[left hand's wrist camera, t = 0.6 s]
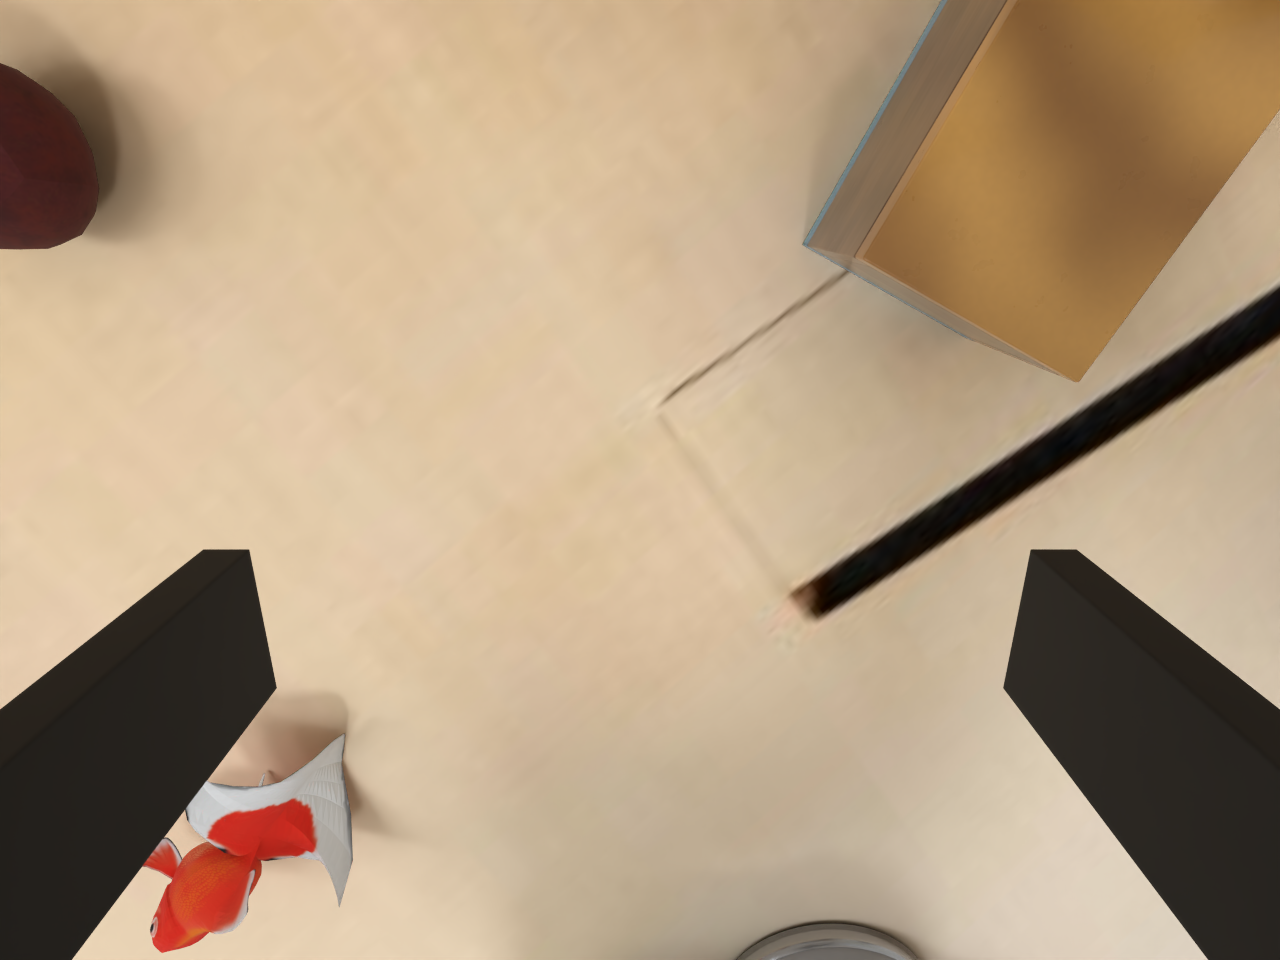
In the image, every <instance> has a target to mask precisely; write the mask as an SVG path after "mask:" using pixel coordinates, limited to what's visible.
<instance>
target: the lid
mask: <svg viewBox="0 0 1280 960" xmlns="http://www.w3.org/2000/svg"><path fill="white" fill-rule="evenodd" d="M1279 110H1280V0H1007V2H1006V4H1005V5H1004V7H1003V9H1002V10H1001V12H1000V14H999V15H998V17H997V19H996V21H995V22H994V24H993V26H992V27H991V29H990V31H989V32H988V34H987V36H986V37H985V39H984V41H983V42H982V44H981V46H980V47H979V49H978V51H977V52H976V54H975V56H974V57H973V59H972V61H971V62H970V64H969V66H968V67H967V69H966V71H965V73H964V74H963V76H962V78H961V79H960V81H959V83H958V84H957V86H956V88H955V89H954V91H953V93H952V94H951V96H950V98H949V99H948V101H947V103H946V104H945V106H944V108H943V109H942V111H941V113H940V114H939V116H938V118H937V119H936V121H935V123H934V125H933V126H932V128H931V130H930V131H929V133H928V135H927V136H926V138H925V140H924V141H923V143H922V145H921V146H920V148H919V150H918V151H917V153H916V155H915V156H914V158H913V160H912V161H911V163H910V165H909V166H908V168H907V170H906V171H905V173H904V175H903V176H902V178H901V180H900V182H899V183H898V185H897V187H896V188H895V190H894V192H893V193H892V195H891V197H890V198H889V200H888V202H887V203H886V205H885V207H884V208H883V210H882V212H881V213H880V215H879V217H878V218H877V220H876V222H875V223H874V225H873V227H872V228H871V230H870V232H869V234H868V235H867V237H866V239H865V240H864V242H863V244H862V245H861V247H860V249H859V250H858V252H857V254H856V256H855V258H856V259H858V260H859V261H861V262H863V263H865V264H866V265H868V266H870V267H872V268H873V269H875V270H877V271H879V272H880V273H882V274H884V275H886V276H887V277H889V278H891V279H893V280H894V281H896V282H898V283H900V284H901V285H903V286H905V287H907V288H908V289H910V290H912V291H913V292H915V293H917V294H919V295H920V296H922V297H924V298H926V299H927V300H929V301H931V302H933V303H934V304H936V305H938V306H940V307H941V308H943V309H945V310H947V311H948V312H950V313H952V314H954V315H955V316H957V317H959V318H961V319H962V320H964V321H966V322H968V323H969V324H971V325H973V326H975V327H976V328H978V329H980V330H982V331H983V332H985V333H987V334H989V335H990V336H992V337H994V338H996V339H997V340H999V341H1001V342H1003V343H1004V344H1006V345H1008V346H1009V347H1011V348H1013V349H1015V350H1016V351H1018V352H1020V353H1022V354H1023V355H1025V356H1027V357H1029V358H1030V359H1032V360H1034V361H1036V362H1037V363H1039V364H1041V365H1043V366H1044V367H1046V368H1048V369H1050V370H1051V371H1053V372H1055V373H1057V374H1058V375H1060V376H1062V377H1064V378H1067V379H1069V380H1072V381H1074V382H1079V381H1080V380H1081V378H1082V377H1083V376H1084V374H1085V373H1086V372H1087V370H1088V369H1089V367H1090V366H1091V365H1092V363H1093V362H1094V361H1095V359H1096V358H1097V357H1098V355H1099V354H1100V353H1101V351H1102V350H1103V348H1104V347H1105V346H1106V344H1107V343H1108V342H1109V340H1110V339H1111V338H1112V336H1113V335H1114V334H1115V332H1116V331H1117V329H1118V328H1119V327H1120V325H1121V324H1122V323H1123V321H1124V320H1125V319H1126V317H1127V316H1128V315H1129V313H1130V312H1131V310H1132V309H1133V308H1134V306H1135V305H1136V304H1137V302H1138V301H1139V300H1140V298H1141V297H1142V296H1143V294H1144V293H1145V291H1146V290H1147V289H1148V287H1149V286H1150V285H1151V283H1152V282H1153V281H1154V279H1155V278H1156V277H1157V275H1158V274H1159V273H1160V271H1161V270H1162V268H1163V267H1164V266H1165V264H1166V263H1167V262H1168V260H1169V259H1170V258H1171V256H1172V255H1173V254H1174V252H1175V251H1176V249H1177V248H1178V247H1179V245H1180V244H1181V243H1182V241H1183V240H1184V239H1185V237H1186V236H1187V235H1188V233H1189V232H1190V230H1191V229H1192V228H1193V226H1194V225H1195V224H1196V222H1197V221H1198V220H1199V218H1200V217H1201V216H1202V214H1203V213H1204V211H1205V210H1206V209H1207V207H1208V206H1209V205H1210V203H1211V202H1212V201H1213V199H1214V198H1215V197H1216V195H1217V194H1218V192H1219V191H1220V190H1221V188H1222V187H1223V186H1224V184H1225V183H1226V182H1227V180H1228V179H1229V178H1230V176H1231V175H1232V173H1233V172H1234V171H1235V169H1236V168H1237V167H1238V165H1239V164H1240V163H1241V161H1242V160H1243V159H1244V157H1245V156H1246V154H1247V153H1248V152H1249V150H1250V149H1251V148H1252V146H1253V145H1254V144H1255V142H1256V141H1257V140H1258V138H1259V137H1260V135H1261V134H1262V133H1263V131H1264V130H1265V129H1266V127H1267V126H1268V125H1269V123H1270V122H1271V121H1272V119H1273V118H1274V116H1275V115H1276V114H1277V112H1278V111H1279Z"/></svg>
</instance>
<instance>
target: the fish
mask: <svg viewBox="0 0 1280 960" xmlns="http://www.w3.org/2000/svg"><path fill="white" fill-rule="evenodd" d="M344 741H345V734H342V735H341V736H340V737H338V738H336V739H335V740H333V741H332V742H331V743H330V744H329V745H328V746H327V747H326V748H325V749H324V750H322V751H321V752H320V753H319V754H318V755H317V756H316V757H315V758H314V759H313V760H312V761H310V762H309V763H307V764H306V765H305V766H303V767H302V768H301V769H299V770H298V771H296V772H295V773H293V774H292V775H290V776H289V777H287V778H286V779H284V780H283V781H281V782H279V783H274V784H269V785H265V786H262V784H263V780H264V777H265V773H264V774H263V776H262V779H261V781H260V783H259V786H258V787H242V786H229V785H222V784H216V783H210V782H208V781H206V782H205V784H204V785H203V786H202V788H201V789H200V790H199V792H198V793H197V794H196V796H195V797H194V798H193V800H192V801H191V802H190V804H189V805H188V806H187V808H186V809H185V811H186V816H187V820H188V822H189V823H190V824H191V826H192V827H193V828H194V830H195V831H196V832H197V833H198V834H200V835H201V836H202V837H203V838H205V839H206V840H207V841H208V842H205V843H202V844H200V845H198V846H197V847H195V848H194V849H192V850H191V851H190V852H189V853H188V854H187V855H186V856H185V857H184V858H183V859H182V858H181V855H180V853H179V851H178V849H177V848H176V846H175V845H174V844H173V842H172V841H171V840H170V839H169V838H163V839H162V841H161V842H160V843H159V845H158V846H157V847H156V849H155V850H154V851H153V853H152V854H151V855H150V857H149V858H148V859H147V861H146V862H145V863H144V865H143V866H144V867H148V868H150V869H153V870H156V871H159V872H161V873H162V874H164V875H166V876H167V877H169V878H171V879H172V882H171V883H170V884H168V885H167V887H166V889H165V892H164V894H163V897H162V899H161V902H160V904H159V906H158V909H157V911H156V913H155V915H154V918H153V921H152V925H151V928H150V933H151V936H152V940H153V944H154V946H155V947H156V948H157V949H158V950H159V951H160V952H162V953H163V952H167V951H171V950H176V949H180V948H184V947H187V946H190V945H192V944H194V943H196V942H198V941H199V940H201V939H202V938H203V937H204V936H206V935H207V934H208V933H209V932H212V933H214V934H223V933H226V932H230V931H233V930H234V929H235V928H236V927H237V926H238V925H240V923H241V922H242V920H243V919H244V917H245V916H246V914H247V912H248V898H249V895H250V894H251V892H252V891H253V889H254V888H255V886H256V884H257V882H258V880H259V878H260V876H261V869H262V864H261V860H263V861H269V860H277V859H284V858H291V857H300V858H305V859H313V860H320V861H321V862H322V864H323V865H324V866H325V867H326V869H327V871H328V873H329V875H330V876H331V879H332V882H333V884H334V887H335V891H336V894H337V897H338V903H339V907H340V903H341V900H342V896H343V893H344V889H345V886H346V882H347V879H348V875H349V872H350V868H351V865H352V861H353V854H352V830H351V812H350V807H349V801H348V796H347V790H346V785H345V779H344V773H343V767H342V757H343V751H344Z"/></svg>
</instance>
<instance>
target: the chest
mask: <svg viewBox="0 0 1280 960" xmlns="http://www.w3.org/2000/svg"><path fill="white" fill-rule="evenodd" d="M1006 2H1007V0H942V1H941V2H940V4H939V6H938V8H937V9H936V11H935V13H934V15H933V16H932V18H931V20H930V22H929V23H928V25H927V27H926V29H925V30H924V32H923V34H922V36H921V37H920V39H919V41H918V43H917V44H916V46H915V48H914V50H913V51H912V53H911V55H910V57H909V58H908V60H907V62H906V64H905V66H904V67H903V69H902V71H901V73H900V74H899V76H898V78H897V80H896V81H895V83H894V85H893V87H892V88H891V90H890V92H889V94H888V95H887V97H886V99H885V101H884V102H883V104H882V106H881V108H880V109H879V111H878V113H877V115H876V116H875V118H874V120H873V122H872V123H871V125H870V127H869V129H868V130H867V132H866V134H865V136H864V137H863V139H862V141H861V143H860V144H859V146H858V148H857V150H856V151H855V153H854V155H853V157H852V159H851V160H850V162H849V164H848V166H847V167H846V169H845V171H844V173H843V174H842V176H841V178H840V180H839V181H838V183H837V185H836V187H835V188H834V190H833V192H832V194H831V195H830V197H829V199H828V201H827V202H826V204H825V206H824V208H823V209H822V211H821V213H820V215H819V216H818V218H817V220H816V222H815V223H814V225H813V227H812V229H811V230H810V232H809V234H808V236H807V237H806V239H805V241H804V243H803V244H802V245H803V246H805V247H807V248H809V249H810V250H812V251H814V252H816V253H818V254H819V255H821V256H823V257H825V258H826V259H828V260H830V261H832V262H833V263H835V264H837V265H839V266H840V267H842V268H844V269H846V270H847V271H849V272H851V273H853V274H854V275H856V276H858V277H860V278H861V279H863V280H865V281H867V282H869V283H870V284H872V285H874V286H876V287H877V288H879V289H881V290H883V291H884V292H886V293H888V294H890V295H891V296H893V297H895V298H897V299H898V300H900V301H902V302H904V303H905V304H907V305H909V306H911V307H912V308H914V309H916V310H918V311H920V312H921V313H923V314H925V315H927V316H928V317H930V318H932V319H934V320H935V321H937V322H939V323H941V324H942V325H944V326H946V327H948V328H949V329H951V330H953V331H955V332H956V333H958V334H960V335H962V336H963V337H965V338H967V339H970V340H972V341H976V342H978V343H981V344H983V345H986V346H988V347H991V348H993V349H996V350H998V351H1000V352H1003V353H1005V354H1008V355H1010V356H1013V357H1015V358H1018V359H1020V360H1022V361H1025V362H1027V363H1030V364H1032V365H1035V366H1037V367H1040V368H1042V369H1045V370H1047V371H1049V372H1052V373H1054V374H1057V373H1055V372H1053V371H1051V370H1050V369H1048V368H1046V367H1044V366H1043V365H1041V364H1039V363H1037V362H1036V361H1034V360H1032V359H1030V358H1029V357H1027V356H1025V355H1023V354H1022V353H1020V352H1018V351H1016V350H1015V349H1013V348H1011V347H1009V346H1008V345H1006V344H1004V343H1003V342H1001V341H999V340H997V339H996V338H994V337H992V336H990V335H989V334H987V333H985V332H983V331H982V330H980V329H978V328H976V327H975V326H973V325H971V324H969V323H968V322H966V321H964V320H962V319H961V318H959V317H957V316H955V315H954V314H952V313H950V312H948V311H947V310H945V309H943V308H941V307H940V306H938V305H936V304H934V303H933V302H931V301H929V300H927V299H926V298H924V297H922V296H920V295H919V294H917V293H915V292H913V291H912V290H910V289H908V288H907V287H905V286H903V285H901V284H900V283H898V282H896V281H894V280H893V279H891V278H889V277H887V276H886V275H884V274H882V273H880V272H879V271H877V270H875V269H873V268H872V267H870V266H868V265H866V264H865V263H863V262H861V261H859V260H858V259H856V258H855V256H856V254H857V252H858V250H859V249H860V247H861V245H862V244H863V242H864V240H865V239H866V237H867V235H868V234H869V232H870V230H871V228H872V227H873V225H874V223H875V222H876V220H877V218H878V217H879V215H880V213H881V212H882V210H883V208H884V207H885V205H886V203H887V202H888V200H889V198H890V197H891V195H892V193H893V192H894V190H895V188H896V187H897V185H898V183H899V182H900V180H901V178H902V176H903V175H904V173H905V171H906V170H907V168H908V166H909V165H910V163H911V161H912V160H913V158H914V156H915V155H916V153H917V151H918V150H919V148H920V146H921V145H922V143H923V141H924V140H925V138H926V136H927V135H928V133H929V131H930V130H931V128H932V126H933V125H934V123H935V121H936V119H937V118H938V116H939V114H940V113H941V111H942V109H943V108H944V106H945V104H946V103H947V101H948V99H949V98H950V96H951V94H952V93H953V91H954V89H955V88H956V86H957V84H958V83H959V81H960V79H961V78H962V76H963V74H964V73H965V71H966V69H967V67H968V66H969V64H970V62H971V61H972V59H973V57H974V56H975V54H976V52H977V51H978V49H979V47H980V46H981V44H982V42H983V41H984V39H985V37H986V36H987V34H988V32H989V31H990V29H991V27H992V26H993V24H994V22H995V21H996V19H997V17H998V15H999V14H1000V12H1001V10H1002V9H1003V7H1004V5H1005V4H1006ZM1057 375H1058V374H1057Z"/></svg>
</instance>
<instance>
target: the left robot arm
mask: <svg viewBox="0 0 1280 960" xmlns="http://www.w3.org/2000/svg"><path fill="white" fill-rule="evenodd" d="M276 688H277V687H276V682H275V677H274V672H273V667H272V662H271V657H270V652H269V647H268V642H267V637H266V632H265V627H264V622H263V617H262V612H261V607H260V602H259V597H258V592H257V587H256V582H255V577H254V572H253V567H252V562H251V556H250V551H249V550H202V551H201V552H200V553H199V554H197V555H196V556H195V557H193V558H192V559H191V560H190V561H188V562H187V563H186V564H185V565H183V566H182V567H181V568H179V569H178V570H177V571H176V572H174V573H173V574H172V575H171V576H169V577H168V578H167V579H166V580H164V581H163V582H162V583H160V584H159V585H158V586H157V587H155V588H154V589H153V590H152V591H150V592H149V593H148V594H146V595H145V596H144V597H143V598H141V599H140V600H139V601H138V602H136V603H135V604H134V605H132V606H131V607H130V608H129V609H127V610H126V611H125V612H124V613H122V614H121V615H120V616H118V617H117V618H116V619H115V620H113V621H112V622H111V623H110V624H108V625H107V626H106V627H104V628H103V629H102V630H101V631H99V632H98V633H97V634H96V635H94V636H93V637H92V638H91V639H89V640H88V641H87V642H85V643H84V644H83V645H82V646H80V647H79V648H78V649H77V650H75V651H74V652H73V653H71V654H70V655H69V656H68V657H66V658H65V659H64V660H63V661H61V662H60V663H59V664H57V665H56V666H55V667H54V668H52V669H51V670H50V671H49V672H47V673H46V674H45V675H43V676H42V677H41V678H40V679H38V680H37V681H36V682H35V683H33V684H32V685H31V686H29V687H28V688H27V689H26V690H24V691H23V692H22V693H21V694H19V695H18V696H17V697H15V698H14V699H13V700H12V701H10V702H9V703H8V704H7V705H5V706H4V707H3V708H2V709H0V960H72V959H73V957H74V956H75V955H76V953H77V952H78V951H79V949H80V948H81V947H82V945H83V944H84V943H85V941H86V940H87V939H88V937H89V936H90V935H91V934H92V932H93V931H94V930H95V928H96V927H97V926H98V924H99V923H100V922H101V920H102V919H103V918H104V916H105V915H106V914H107V912H108V911H109V910H110V908H111V907H112V906H113V904H114V903H115V902H116V900H117V899H118V898H119V896H120V895H121V894H122V892H123V891H124V890H125V888H126V887H127V886H128V884H129V883H130V882H131V880H132V879H133V878H134V876H135V875H136V874H137V873H138V871H139V870H140V869H141V867H142V866H143V865H144V863H145V862H146V861H147V859H148V858H149V857H150V855H151V854H152V853H153V851H154V850H155V849H156V847H157V846H158V845H159V843H160V842H161V841H162V839H163V838H164V837H165V835H166V834H167V833H168V831H169V830H170V829H171V827H172V826H173V825H174V823H175V822H176V821H177V819H178V818H179V817H180V816H181V814H182V813H183V812H184V810H185V809H186V808H187V806H188V805H189V804H190V802H191V801H192V800H193V798H194V797H195V796H196V794H197V793H198V792H199V790H200V789H201V788H202V786H203V785H204V784H205V782H206V781H207V780H208V778H209V777H210V776H211V774H212V773H213V772H214V770H215V769H216V768H217V766H218V765H219V764H220V762H221V761H222V760H223V758H224V757H225V756H226V755H227V753H228V752H229V751H230V749H231V748H232V747H233V745H234V744H235V743H236V741H237V740H238V739H239V737H240V736H241V735H242V733H243V732H244V731H245V729H246V728H247V727H248V725H249V724H250V723H251V721H252V720H253V719H254V717H255V716H256V715H257V713H258V712H259V711H260V709H261V708H262V707H263V705H264V704H265V703H266V701H267V700H268V699H269V698H270V696H271V695H272V694H273V692H274V691H275V690H276ZM1003 688H1004V690H1005V691H1006V692H1007V694H1008V695H1009V696H1010V698H1011V699H1012V700H1013V701H1014V703H1015V704H1016V705H1017V707H1018V708H1019V709H1020V711H1021V712H1022V713H1023V715H1024V716H1025V717H1026V719H1027V720H1028V721H1029V723H1030V724H1031V725H1032V727H1033V728H1034V729H1035V731H1036V732H1037V733H1038V735H1039V736H1040V737H1041V739H1042V740H1043V741H1044V743H1045V744H1046V745H1047V747H1048V748H1049V749H1050V751H1051V752H1052V753H1053V755H1054V756H1055V757H1056V758H1057V760H1058V761H1059V762H1060V764H1061V765H1062V766H1063V768H1064V769H1065V770H1066V772H1067V773H1068V774H1069V776H1070V777H1071V778H1072V780H1073V781H1074V782H1075V784H1076V785H1077V786H1078V788H1079V789H1080V790H1081V792H1082V793H1083V794H1084V796H1085V797H1086V798H1087V800H1088V801H1089V802H1090V804H1091V805H1092V806H1093V808H1094V809H1095V810H1096V812H1097V813H1098V814H1099V816H1100V817H1101V818H1102V819H1103V821H1104V822H1105V823H1106V825H1107V826H1108V827H1109V829H1110V830H1111V831H1112V833H1113V834H1114V835H1115V837H1116V838H1117V839H1118V841H1119V842H1120V843H1121V845H1122V846H1123V847H1124V849H1125V850H1126V851H1127V853H1128V854H1129V855H1130V857H1131V858H1132V859H1133V861H1134V862H1135V863H1136V865H1137V866H1138V867H1139V869H1140V870H1141V871H1142V873H1143V874H1144V875H1145V877H1146V878H1147V879H1148V880H1149V882H1150V883H1151V884H1152V886H1153V887H1154V888H1155V890H1156V891H1157V892H1158V894H1159V895H1160V896H1161V898H1162V899H1163V900H1164V902H1165V903H1166V904H1167V906H1168V907H1169V908H1170V910H1171V911H1172V912H1173V914H1174V915H1175V916H1176V918H1177V919H1178V920H1179V922H1180V923H1181V924H1182V926H1183V927H1184V928H1185V930H1186V931H1187V932H1188V934H1189V935H1190V936H1191V937H1192V939H1193V940H1194V941H1195V943H1196V944H1197V945H1198V947H1199V948H1200V949H1201V951H1202V952H1203V953H1204V955H1205V956H1206V957H1207V959H1208V960H1280V709H1278V708H1277V707H1276V706H1275V705H1273V704H1272V703H1271V702H1270V701H1268V700H1267V699H1266V698H1265V697H1263V696H1262V695H1261V694H1259V693H1258V692H1257V691H1256V690H1254V689H1253V688H1252V687H1251V686H1249V685H1248V684H1247V683H1245V682H1244V681H1243V680H1242V679H1240V678H1239V677H1238V676H1237V675H1235V674H1234V673H1233V672H1231V671H1230V670H1229V669H1228V668H1226V667H1225V666H1224V665H1223V664H1221V663H1220V662H1219V661H1217V660H1216V659H1215V658H1214V657H1212V656H1211V655H1210V654H1209V653H1207V652H1206V651H1205V650H1203V649H1202V648H1201V647H1200V646H1198V645H1197V644H1196V643H1195V642H1193V641H1192V640H1191V639H1189V638H1188V637H1187V636H1186V635H1184V634H1183V633H1182V632H1181V631H1179V630H1178V629H1177V628H1176V627H1174V626H1173V625H1172V624H1170V623H1169V622H1168V621H1167V620H1165V619H1164V618H1163V617H1162V616H1160V615H1159V614H1158V613H1156V612H1155V611H1154V610H1153V609H1151V608H1150V607H1149V606H1148V605H1146V604H1145V603H1144V602H1142V601H1141V600H1140V599H1139V598H1137V597H1136V596H1135V595H1134V594H1132V593H1131V592H1130V591H1128V590H1127V589H1126V588H1125V587H1123V586H1122V585H1121V584H1120V583H1118V582H1117V581H1116V580H1114V579H1113V578H1112V577H1111V576H1109V575H1108V574H1107V573H1106V572H1104V571H1103V570H1102V569H1101V568H1099V567H1098V566H1097V565H1095V564H1094V563H1093V562H1092V561H1090V560H1089V559H1088V558H1087V557H1085V556H1084V555H1083V554H1081V553H1080V552H1079V551H1078V550H1031V551H1030V556H1029V561H1028V567H1027V572H1026V577H1025V582H1024V587H1023V592H1022V597H1021V602H1020V607H1019V612H1018V617H1017V622H1016V627H1015V632H1014V637H1013V642H1012V647H1011V652H1010V657H1009V662H1008V667H1007V672H1006V677H1005V682H1004V687H1003ZM736 960H918V958H917V957H916V956H915V955H914V954H913V953H912V952H911V951H910V950H909V949H908V948H907V947H906V946H904V945H903V944H902V943H900V942H899V941H897V940H896V939H894V938H892V937H890V936H888V935H886V934H884V933H881V932H879V931H876V930H873V929H869V928H865V927H861V926H856V925H848V924H815V925H807V926H802V927H797V928H793V929H789V930H786V931H783V932H780V933H777V934H775V935H773V936H770V937H768V938H766V939H764V940H762V941H760V942H759V943H757V944H755V945H754V946H752V947H751V948H749V949H748V950H747V951H745V952H744V953H743V954H742V955H741V956H740V957H738V958H737V959H736Z"/></svg>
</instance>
